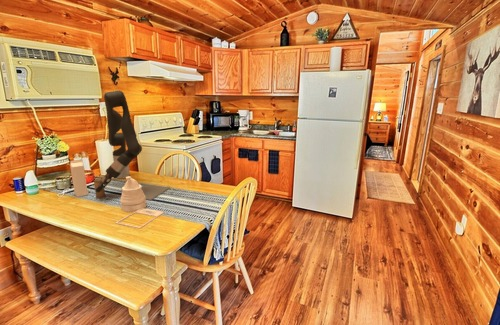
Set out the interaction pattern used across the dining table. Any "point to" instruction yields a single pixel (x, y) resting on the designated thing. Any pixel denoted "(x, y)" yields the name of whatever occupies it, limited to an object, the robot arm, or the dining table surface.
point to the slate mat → (153, 191)
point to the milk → (78, 178)
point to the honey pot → (132, 196)
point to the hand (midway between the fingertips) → (97, 189)
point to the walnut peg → (102, 192)
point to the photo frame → (144, 212)
